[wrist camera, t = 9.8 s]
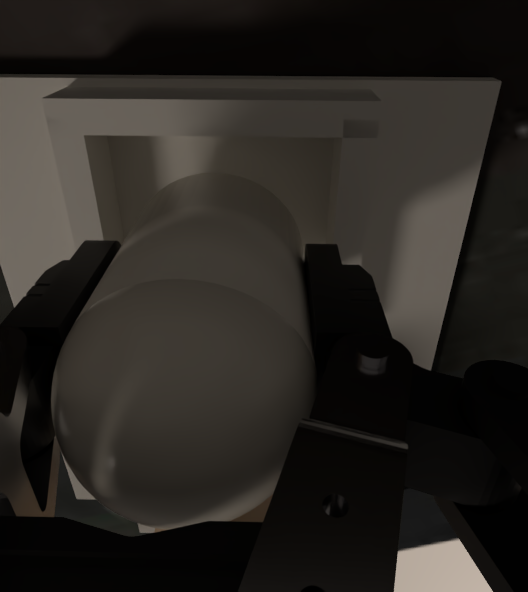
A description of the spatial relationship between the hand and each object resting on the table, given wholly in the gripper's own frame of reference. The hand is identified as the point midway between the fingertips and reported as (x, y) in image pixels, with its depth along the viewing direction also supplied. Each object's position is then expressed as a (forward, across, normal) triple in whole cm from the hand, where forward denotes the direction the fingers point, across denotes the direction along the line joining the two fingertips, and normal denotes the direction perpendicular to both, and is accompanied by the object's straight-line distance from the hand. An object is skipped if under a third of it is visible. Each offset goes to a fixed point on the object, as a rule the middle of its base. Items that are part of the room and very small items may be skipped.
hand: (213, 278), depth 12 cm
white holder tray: (+4, 0, +4) cm, 6 cm away
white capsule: (+1, 0, 0) cm, 1 cm away
